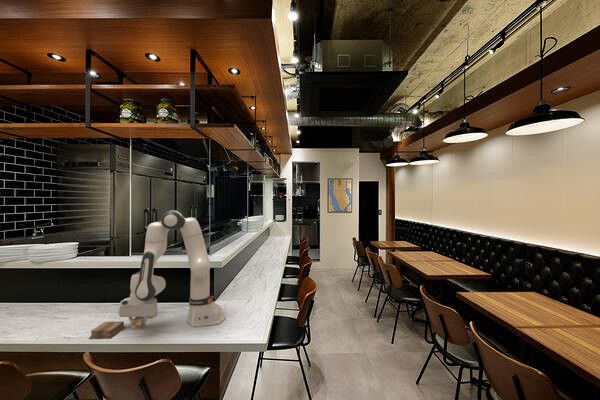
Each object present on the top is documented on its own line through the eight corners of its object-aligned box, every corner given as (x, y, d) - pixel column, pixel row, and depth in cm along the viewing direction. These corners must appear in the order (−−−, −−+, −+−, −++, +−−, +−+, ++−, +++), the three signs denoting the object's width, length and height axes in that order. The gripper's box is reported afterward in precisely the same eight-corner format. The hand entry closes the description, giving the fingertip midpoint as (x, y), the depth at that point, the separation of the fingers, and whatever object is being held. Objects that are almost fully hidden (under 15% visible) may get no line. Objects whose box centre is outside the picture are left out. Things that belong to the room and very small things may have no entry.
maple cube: (145, 324, 143) (145, 316, 143) (140, 328, 138) (140, 319, 138) (136, 324, 143) (136, 316, 143) (131, 328, 138) (131, 320, 138)
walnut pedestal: (125, 328, 139) (125, 320, 139) (111, 338, 128) (111, 330, 128) (105, 328, 138) (105, 321, 139) (88, 338, 127) (89, 331, 127)
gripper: (160, 297, 145) (159, 321, 144) (124, 297, 144) (124, 321, 143) (154, 301, 138) (153, 326, 138) (117, 302, 137) (116, 326, 137)
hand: (138, 323), depth 141 cm, fingers closed on maple cube, 5 cm apart
